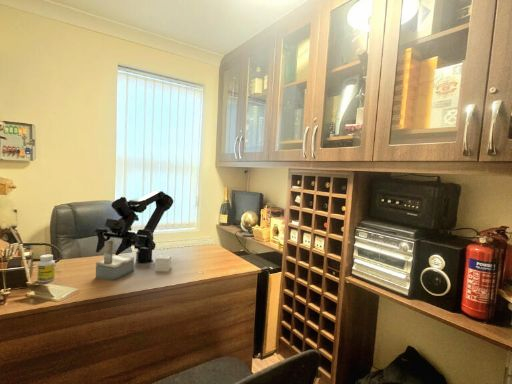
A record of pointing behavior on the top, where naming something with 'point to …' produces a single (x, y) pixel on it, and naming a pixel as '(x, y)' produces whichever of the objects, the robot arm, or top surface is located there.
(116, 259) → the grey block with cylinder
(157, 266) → the white cube
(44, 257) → the supplement bottle
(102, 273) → the storage box
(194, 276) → the top surface
